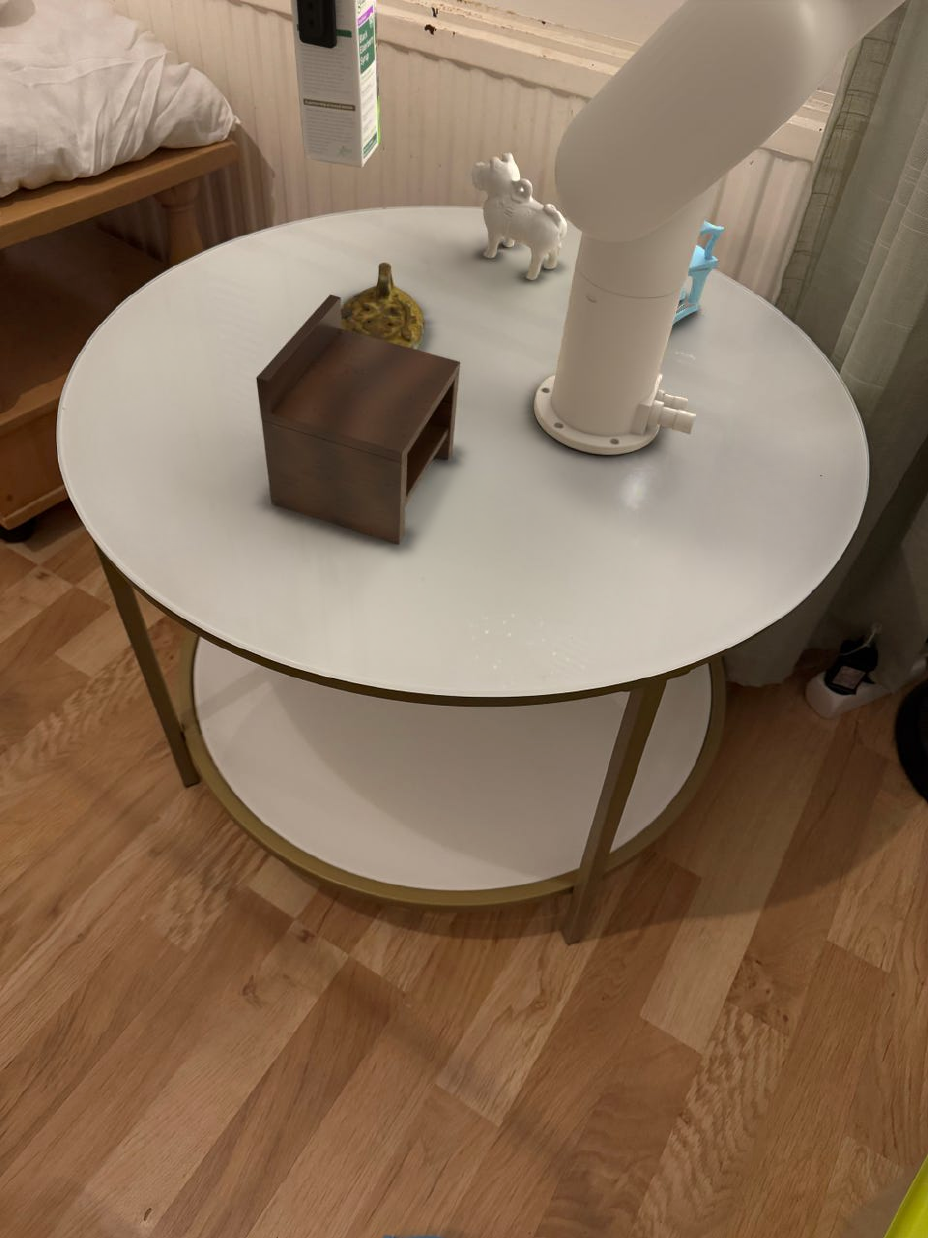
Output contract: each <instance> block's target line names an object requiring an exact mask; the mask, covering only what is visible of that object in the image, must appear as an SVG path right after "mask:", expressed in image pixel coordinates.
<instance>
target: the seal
mask: <svg viewBox="0 0 928 1238" xmlns="http://www.w3.org/2000/svg"><path fill="white" fill-rule="evenodd" d="M377 269H378V271H377V272H378V273H377V274H378V275H377V282H376V285H374V286H371V287H369V288H366V289H365V290H363V291H361V292H358V293H356V294H354V295H353V296H352V297H351V298H349V299H348V300H347V301H346V302H345V303H344V304H343V305H342V306H341V322H342V329H345V330H348V331H352V332H355V333H359V334H363V335H366V336H370V337H373V338H377V339H380V340H384V341H388V342H391V343H395V344H398V345H402V346H405V347H409V348H413V349H416V350H419V348H420V346H421V344H422V341H423V338H424V334H425V324H426V323H425V318H424V314H423V311H422V309H421V307H420V305H419V304H418V302H417V301H416V300H414V299H413V298H412V297H411V296H410V295H409V294H408V293H407V292H405V291H404V290H402V289H400V288H399V287H397V285H395V283H394V279H393V275H392V266H391V264H390V263H389V262H381V263H379V264H378V268H377Z"/></svg>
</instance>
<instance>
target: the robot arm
mask: <svg viewBox="0 0 928 1238" xmlns="http://www.w3.org/2000/svg"><path fill="white" fill-rule="evenodd" d="M906 1H907V0H684V1H683V2H682V3H681V4H680V5H679V6H678V7H677V8H676V9H675V10H674V12H673V13H671V15H670V16H669V17H667V19H666V20H665V21H664V22H663V23H662V24H661V25H660V26H659V27H658V28H657V29H656V30H655V31H654V32H653V34H651V36H649V38H648V39H647V40H646V41H645V42H644V43H643V44H642V45H641V46H640V47H639V48H638V49H637V51H636V52H634V53H633V55H632V56H630V58H629V59H628V60H627V61H626V62H625V63H624V64H623V65H622V66H621V67H620V69H618V70H617V72H616V73H615V74H613V75H612V76H611V78H610V79H609V80H608V81H607V82H606V83H605V84H604V85H603V86H602V87H601V88H600V89H599V90H598V91H597V93H596V94H595V95H594V96H593V97H591V99H589V101H587V103H586V104H585V105H584V106H583V107H582V108H581V109H580V111H578V113H577V114H576V115H575V116H574V117H573V118H572V120H571V121H570V123H569V124H568V125H567V127H566V129H565V131H564V132H563V134H562V137H561V139H560V142H559V144H558V146H557V151H556V154H555V159H554V167H553V183H554V190H555V194H556V198H557V202H558V204H559V206H560V209H561V210H562V212H563V214H564V216H565V217H566V218H567V220H568V221H569V222H570V223H571V224H572V225H573V227H575V228H576V229H577V230H578V231H579V232H581V235H580V241H579V246H578V251H577V257H576V260H575V264H574V270H573V276H572V281H571V287H570V292H569V298H568V304H567V308H566V314H565V320H564V325H563V331H562V335H561V341H560V348H559V352H558V357H557V363H556V368H555V373H554V374H553V375H550V376H549V377H547V378H545V380H544V381H543V382H541V384H540V385H539V386H538V387H537V390H536V393H535V394H534V395H535V396H534V402H533V412H534V415H535V418H536V420H537V422H538V423H539V425H540V426H541V428H542V429H543V430H544V431H545V432H546V433H547V434H548V435H549V436H551V437H552V438H553V439H555V440H556V441H558V442H559V443H561V444H563V445H565V446H567V447H569V448H572V449H575V450H577V451H580V452H584V453H589V454H593V455H604V456H605V455H606V456H608V455H623V454H629V453H631V452H635V451H638V450H640V449H642V448H644V447H646V446H647V445H649V444H650V443H651V442H652V441H653V440H654V439H655V438H656V436H657V435H658V433H659V430H660V428H661V426H662V427H666V428H669V429H671V430H673V431H676V432H681V433H684V434H687V435H690V434H691V432H692V430H693V426H694V423H695V420H696V417H697V413H692V412H688V411H686V410H685V409H686V406H687V403H688V400H689V399H688V398H685V397H681V396H678V395H672V394H667V393H665V392H666V391H665V390H664V389H660V386H661V385H662V384H661V383H662V380H663V377H664V375H663V374H661V373H659V372H660V370H661V367H662V363H663V360H664V356H665V352H666V350H667V345H668V343H669V339H670V335H671V332H672V329H673V325H674V324H673V322H674V318H675V315H676V311H677V308H679V304H680V301H681V300H680V297H681V294H682V290H683V287H684V286H685V283H686V281H687V278H688V276H687V275H688V271H689V268H690V264H691V261H692V258H693V254H694V251H695V248H696V244H697V245H698V241H699V237H700V236H699V235H700V232H701V229H702V226H703V223H704V221H706V217H707V214H708V212H709V210H710V209H709V208H710V206H711V203H712V201H713V198H714V195H715V193H716V190H717V187H718V184H719V182H720V180H721V179H722V178H723V177H724V176H726V175H727V174H728V173H729V172H731V171H732V170H733V169H735V167H737V166H738V165H739V164H740V163H742V162H743V161H744V160H745V159H746V158H748V157H749V156H750V155H751V154H752V153H754V152H755V151H756V150H757V149H759V148H760V147H761V146H762V145H763V144H765V143H766V142H767V141H768V140H769V139H770V138H771V137H773V136H774V135H775V134H776V133H777V132H778V131H779V130H780V129H782V127H783V126H785V125H786V124H787V123H788V122H789V121H790V120H791V119H793V117H794V116H795V115H796V114H797V113H798V112H799V111H800V110H801V109H802V108H803V107H804V105H805V104H807V102H808V101H809V100H810V99H811V97H812V96H813V95H814V94H815V93H816V92H817V90H819V88H820V87H821V86H822V84H823V83H824V82H825V80H826V79H827V78H828V77H829V76H830V74H831V73H832V72H833V71H834V70H835V68H836V67H837V66H838V64H839V63H840V62H841V60H842V59H843V58H844V57H845V56H846V55H847V53H849V51H850V50H851V49H852V48H854V47H855V46H856V45H857V44H858V43H859V42H860V41H861V40H862V39H863V38H865V36H866V35H868V34H869V33H870V32H871V31H872V30H873V29H874V28H876V27H877V26H878V25H879V24H880V23H881V22H882V21H884V20H885V19H886V18H887V17H888V16H890V15H891V13H893V12H894V11H895V10H896V9H897V8H898V7H900V6H901V5H902V4H903V3H905V2H906ZM297 12H298V26H299V38H300V40H301V42H303V43H306V44H310V45H315V46H320V47H325V48H329V49H332V48H334V47H335V46H336V45H337V28H336V4H335V0H297Z"/></svg>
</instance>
